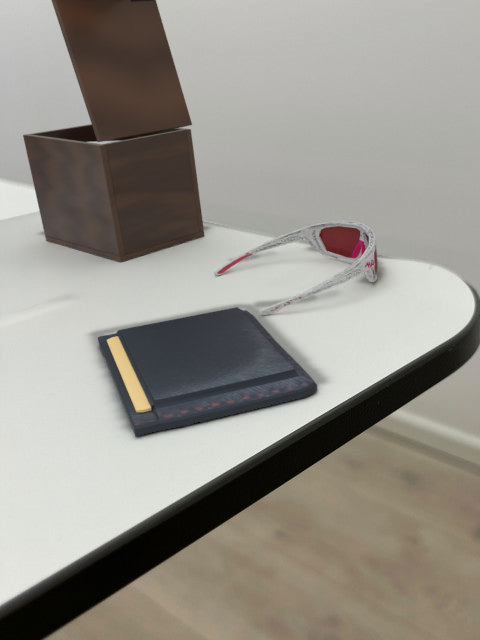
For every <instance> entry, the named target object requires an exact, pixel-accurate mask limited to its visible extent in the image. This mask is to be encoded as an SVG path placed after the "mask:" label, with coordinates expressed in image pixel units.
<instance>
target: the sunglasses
mask: <svg viewBox="0 0 480 640" xmlns="http://www.w3.org/2000/svg"><path fill="white" fill-rule="evenodd" d="M376 240H377V238H376V233H375V232H374V231H373V228H371V227H370V226H368V225H366V224H364V223H362V222H358V221H356V220H330V221H325V222H324V221H322V222H317V223H313V224H310V225H306V226H303V227H300V228H298V229H295V230H292V231H289V232H286V233H283V234H281V235H279V236H276V237H275V238H272V239H271V240H267V241H265V242H263V243H262V244H260V245H258V246H256V247H253V248H252V249H249V250H247V251H246V252H244V253H241V254H239V255H238V256H236V257H234V258H231V260H229V261H228V262H226V263H225V264H223V265H222V266H220V267H219V268H218V269H216V270H215V271H214V272H213V275H214V276H220V275H223V274H224V273H226V272H227V271H228V270H230V269H231V268H233V267H234V266H236V265H237V264H238V263H239V264H240V263H241V262H242V261H244V260H245V259H247V258H250V257H252V256H254V255H257V254H258V253H261V252H264V251H267V250H270V249H274V248H279V247H281V246H285V245H288V244H294V243H298V242H303V241H307V242H308V244H309V245H310V247H311V248H313V249H315V250H317V251H318V252H319V254H320V255H322V256H325V257H328V258H331V259H333V260H336V261H341V262H342V263H343V262H344V263H347V264H349V266H348V267H346V268H344V269H343V270H342V271H340V272H338V273H337V274H335V275H333V276H332V277H329V278H328V279H326V280H324V281H322V282H320V283H318V284H317V285H314V286H313V287H311V288H309V289H307V290H305V291H303V292H301V293H297V294H296V295H294V296H292V297H289V298H287V299H284V300H282V301H279V302H276V303H274V304H271V305H269V306H267V307H264V308H262V309H260V310H259V314H260V315H266V316H267V315H270V314H274V313H275V312H278V311H281V310H282V309H285V308H287V307H289V306H291V305H293V304H295V303H298V302H300V301H302V300H304V299H307V298H310V297H313V296H315V295H318V294H319V293H322V292H325V291H327V290H330V289H332V288H335V287H337V286H339V285H342V284H345V283H347V282H349V281H350V280H353V279H355V278H356V277H358V276H360V275H362V274H364V276H365V278H366V280H368V282H369V283H375V282H376V281H377V279H378V274H377V272H378V252H377V241H376ZM350 264H351V265H350Z"/></svg>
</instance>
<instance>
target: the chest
mask: <svg viewBox="0 0 480 640" xmlns="http://www.w3.org/2000/svg"><path fill="white" fill-rule="evenodd" d="M22 137H23V142H24V146H25V147H24V148H25V151H26V155H27V160H28V165H29V170H30V174H31V178H32V183H33V186H34V188H33V189H34V192H35V197H36V201H37V205H38V210H39V215H40V219H41V224H42V229H43V233H44V237H45V241H46V242H49V243H52V244H56V245H58V246H63V247H67V248H68V249H69V248H70V249H73V250H77V251H80V252H84V253H87V254H91V255H94V256H98V257H101V258H104V259H108V260H111V261H115V262H119V263H123V262H126V261H129V260H133V259H136V258H140V257H143V256H146V255H150V254H152V253H155V252H159V251H161V250H165V249H168V248H172V247H174V246H178V245H180V244H181V245H182V244H184V243H188V242H190V241H191V242H192V241H194V240H197V239H201V238H203V237H205V230H204V223H203V214H202V213H203V212H202V206H201V205H202V204H201V197H200V189H199V183H198V175H197V166H196V159H195V151H194V143H193V136H192V130H191V128H185V127H181V128H175V129H169V130H164V131H158V132H153V133H147V134H141V135H136V136H130V137H125V138H119V139H113V140H108V141H117V142H111V143H106V144H97V143H89V142H97V139H96V136H95V133H94V129H93V126H92V123H90V124H83V125H77V126H70V127H64V128H58V129H51V130H44V131H38V132H33V133H27V134H23V135H22Z"/></svg>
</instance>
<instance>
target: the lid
mask: <svg viewBox="0 0 480 640" xmlns="http://www.w3.org/2000/svg"><path fill="white" fill-rule="evenodd" d="M51 3H52V6H53V9H54V13H55V16H56V19H57V23H58V25H59V28H60V31H61V35H62V38H63V40H64V43H65V46H66V47H65V48H66V50H67V52H68V55H69V59H70V61H71V66H72V68H73V71H74V74H75V78H76V80H77V83H78V87H79V90H80V93H81V95H82V96H81V97H82V99H83V102H84V105H85V107H86V108H85V109H86V111H87V114H88V117H89V121H90V124H92V126H93V129H94V133H95V136H96V139H97V142H102V141H108V140H113V139H119V138H125V137H130V136H136V135H141V134H147V133H153V132H158V131H164V130H169V129H175V128H185V127H190V126H193V122H192V120H191V116H190V112H189V109H188V106H187V101H186V98H185V95H184V92H183V88H182V85H181V81H180V78H179V75H178V71H177V68H176V65H175V61H174V58H173V54H172V51H171V47H170V44H169V41H168V37H167V34H166V33H167V32H166V30H165V27H164V24H163V20H162V16H161V14H160V8H159V6H158V3H157V0H153V1H137V2H131V1H130V0H51Z"/></svg>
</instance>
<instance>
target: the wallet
mask: <svg viewBox="0 0 480 640" xmlns="http://www.w3.org/2000/svg"><path fill="white" fill-rule="evenodd" d="M97 341H98V345H99V350H100V353H101V355H102V357H103V358H105V359H104V361H105V360H106V361H105V363H106V365H107V368H108V371H109V370H110V371H109V373H110V375H111V378H112V381H113V383H114V385H115V388H116V391H117V393H118V396H119V398H120V401H121V403H122V406H123V408H124V412H125V413H126V416H127V419H128V421H129V424H130V427H131V430H132V431H133V435H134V437H136V436H137V437H141V436H145V435H149V434H153V433H157V432H162V431H167V430H172V429H171V428H173V429H177V428H176V427H178V428H182V427H186V425H187V426H191V425H194V423H195V424H199V423H198V422H200V423H203V421H204V422H207V420H208V421H212V420H216V419H215V418H217V419H220V417H221V418H224V416H225V417H229V416H233V414H234V415H238V414H241V412H242V413H246V412H250V410H251V411H254V409H255V410H259V409H263V408H268V407H272V406H275V404H276V405H280V404H284V403H283V402H285V403H288V401H289V402H292V401H296V400H299V398H300V399H303V397H304V398H307V397H309V396H311V395H313V394H315V393H316V392H318V384H317V383H316V381H315V380H314V379H313V378H312V377H311V375H310V374H309V373H308V372H307V371H306V370H305V369H304V368H303V367H302V366H301V365H300V364H299V363H298V362H297V360H295V359H294V357H292V356H291V354H290V353H288V352H287V350H285V349H284V348H283V346H281V344H279V343H278V342H277V340H276V339H275V338H274V337H273V336H272V335H271V334H270V332H269V331H268V330H267V329H266V328H265V327H264V325H262V323H261V322H260V321H259V320H258V319H257V317H256V316H255V315H254V314H252V312H249V310H246V309H245V310H244V309H242V308H239V307H238V306H236V307H230V308H225V309H220V310H215V311H209V312H204V313H200V314H194V315H188V316H184V317H178V318H173V319H168V320H164V321H159V322H152V323H148V324H143V325H142V324H141V325H137V326H132V327H127V328H122V329H118V330H117V331H116V332H115V333H110V334H105V335H100V336H98V337H97ZM295 399H296V400H295ZM291 400H292V401H291ZM279 403H280V404H279ZM271 405H272V406H271ZM267 406H268V407H267ZM262 407H263V408H262ZM258 408H259V409H258ZM245 411H246V412H245ZM237 413H238V414H237ZM228 415H229V416H228ZM211 419H212V420H211ZM190 424H191V425H190ZM181 426H182V427H181ZM166 429H167V430H166ZM161 430H162V431H161ZM156 431H157V432H156ZM152 432H153V433H152ZM148 433H149V434H148ZM144 434H145V435H144ZM140 435H141V436H140Z"/></svg>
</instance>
